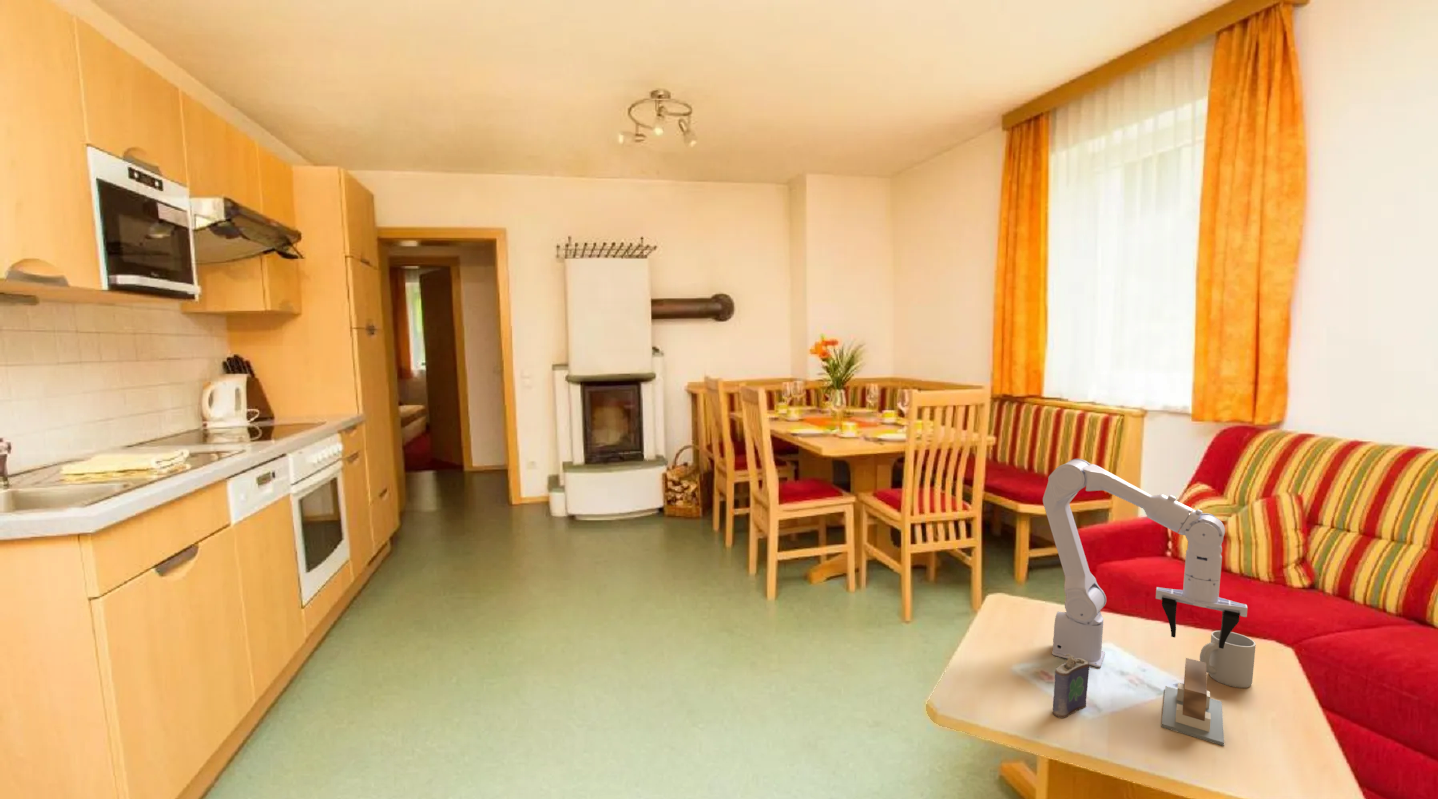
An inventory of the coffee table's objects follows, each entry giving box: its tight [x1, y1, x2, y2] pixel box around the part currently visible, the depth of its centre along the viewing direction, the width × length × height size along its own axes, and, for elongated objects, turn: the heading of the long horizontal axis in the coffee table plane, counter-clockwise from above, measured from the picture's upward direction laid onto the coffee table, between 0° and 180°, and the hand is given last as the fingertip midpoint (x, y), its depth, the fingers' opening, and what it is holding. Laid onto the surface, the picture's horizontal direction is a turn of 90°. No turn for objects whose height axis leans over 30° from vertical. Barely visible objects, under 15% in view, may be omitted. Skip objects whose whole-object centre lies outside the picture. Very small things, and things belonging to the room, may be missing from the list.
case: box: [1183, 657, 1208, 721], centre depth 119 cm, size 3×14×5 cm, turn 143°
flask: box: [1052, 654, 1090, 719], centre depth 121 cm, size 9×3×11 cm, turn 121°
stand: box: [1161, 682, 1225, 746], centre depth 120 cm, size 9×16×3 cm, turn 143°
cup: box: [1199, 630, 1257, 689], centre depth 132 cm, size 7×10×9 cm
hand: (1196, 640), depth 128 cm, fingers open, 7 cm apart
